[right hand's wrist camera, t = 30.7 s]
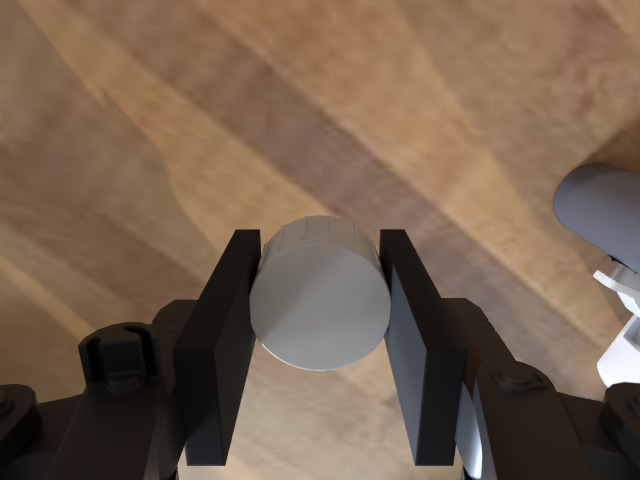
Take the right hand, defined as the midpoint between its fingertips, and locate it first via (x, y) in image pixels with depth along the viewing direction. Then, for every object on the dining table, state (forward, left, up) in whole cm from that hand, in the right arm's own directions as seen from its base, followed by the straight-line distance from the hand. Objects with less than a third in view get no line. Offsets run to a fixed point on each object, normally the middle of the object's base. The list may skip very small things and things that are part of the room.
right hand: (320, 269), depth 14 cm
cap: (0, 0, +2) cm, 2 cm away
